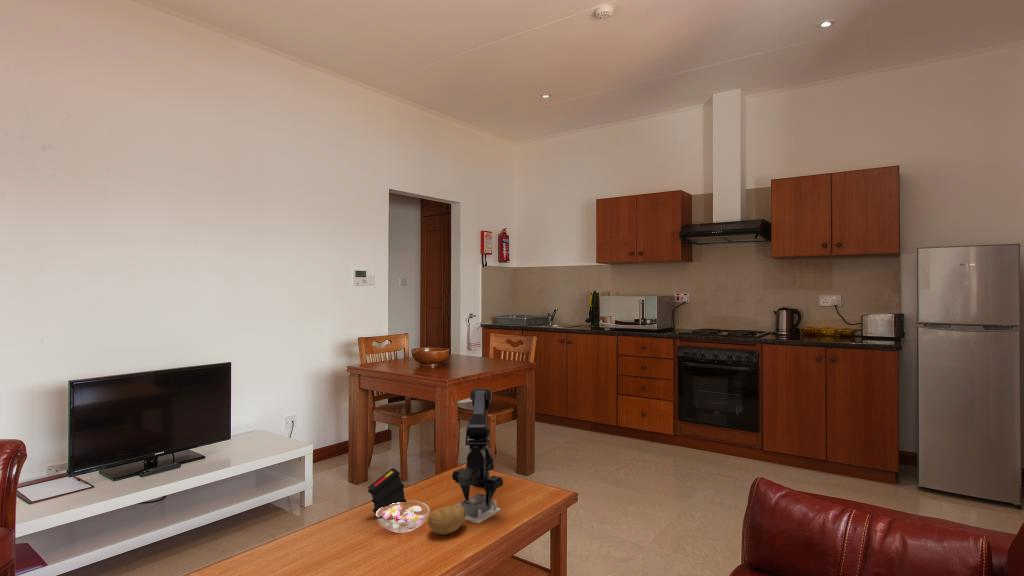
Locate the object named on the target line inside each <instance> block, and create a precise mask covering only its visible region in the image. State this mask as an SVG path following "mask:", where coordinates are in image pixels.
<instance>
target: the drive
mask: <svg viewBox="0 0 1024 576" xmlns="http://www.w3.org/2000/svg"><path fill="white" fill-rule="evenodd" d="M474 495H475V496H473V495H472V496H471V497H469V498H468V499H467V500H465V499H464V500H463V501H461V506H463V507H464V508H465V511H466V515H467V516H470V517H474V518H476V517H477V516H478V509H481V514H483V513H484V512H486V511H488V510H490V509H491V508H492V506H493V498H492V499H491V502H490V504H489V506H486V494H483V493H476V494H474Z"/></svg>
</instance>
